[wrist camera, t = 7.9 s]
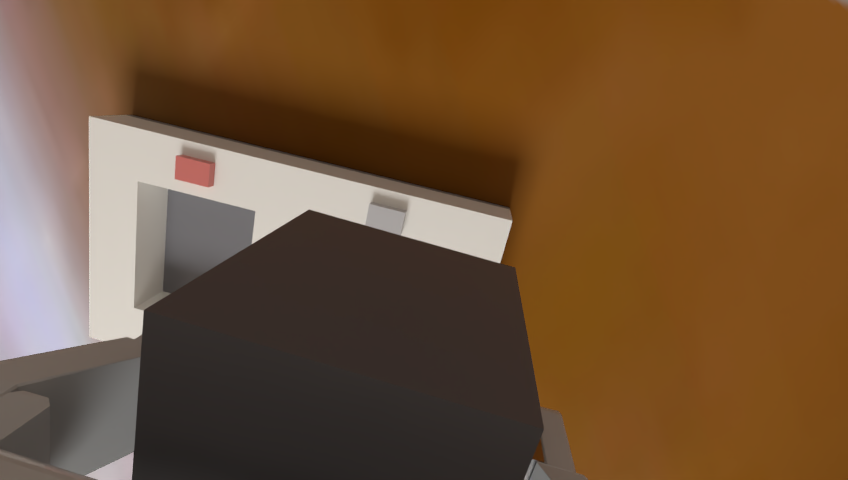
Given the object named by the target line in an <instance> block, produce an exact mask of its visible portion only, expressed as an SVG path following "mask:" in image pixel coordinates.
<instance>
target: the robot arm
mask: <svg viewBox="0 0 848 480" xmlns="http://www.w3.org/2000/svg"><path fill="white" fill-rule="evenodd" d="M141 343H142V335H140V336H139V337H137V338H136V339H132V338H129V337H124V338H119V339H113V340H108V341H103V342H98V343H92V344H87V345H82V346H77V347H71V348H66V349H61V350H55V351H50V352H45V353H40V354H34V355H29V356H24V357H19V358H13V359H8V360H3V361H0V480H96V479H93V478H90V477H87V476H85V475H87V474H89V473H91V472H93V471H95V470H97V469H99V468H101V467H103V466H105V465H107V464H110V463H112V462H114V461H116V460H118V459H120V458H122V457H124V456H126V455H128V454H130V453H133V452H134V445H135V430H136V416H137V401H138V387H139V372H140V358H141ZM540 409H541V414H542V420H543V425H544V431H543V433H542V436H541V438H540V441H539V443H538V446H537V448H536V451H535V453H534V456H533V458H532V460H531V463H530V465H529V468H528V470H527V473H526V475H525V478H524V480H588V479H587V478H586V477H585V476H584V475H581V474H578V473H576V471H575V467H574V463H573V459H572V455H571V451H570V447H569V443H568V439H567V435H566V431H565V427H564V423H563V419H562V415H561V414H560V413H559V412H558V411H555V410H551V409H547V408H543V407H540Z"/></svg>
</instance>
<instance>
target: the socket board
mask: <svg viewBox="0 0 848 480" xmlns="http://www.w3.org/2000/svg"><path fill="white" fill-rule="evenodd" d="M307 210H313V211H316V212H320V213H323V214H327V215H330V216H334V217H337V218H341V219H345V220H348V221H352V222H355V223H359V224H362V225H366V226H369V227H373V228H376V229H380V230H384V231H387V232H391V233H394V234H398V235H401V236H405V237H408V238H412V239H415V240H419V241H423V242H426V243H430V244H433V245H437V246H440V247H444V248H447V249H451V250H454V251H458V252H462V253H465V254H469V255H472V256H476V257H479V258H483V259H486V260H490V261H493V262H497V263H500V262H501V259H502V255H503V252H504V248H505V245H506V242H507V238H508V235H509V231H510V228H511V224H512V216H511V212H510V207H506V206H502V205H497V204H493V203H489V202H485V201H481V200H477V199H473V198H469V197H465V196H461V195H457V194H453V193H449V192H445V191H440V190H436V189H432V188H428V187H424V186H420V185H416V184H412V183H408V182H404V181H400V180H396V179H392V178H388V177H383V176H379V175H375V174H371V173H367V172H363V171H359V170H355V169H351V168H347V167H343V166H339V165H335V164H331V163H326V162H322V161H318V160H314V159H310V158H306V157H302V156H298V155H294V154H290V153H286V152H282V151H278V150H274V149H269V148H265V147H261V146H257V145H253V144H249V143H245V142H241V141H237V140H233V139H229V138H225V137H221V136H216V135H212V134H208V133H204V132H200V131H196V130H192V129H188V128H184V127H180V126H176V125H172V124H168V123H164V122H159V121H155V120H151V119H147V118H143V117H139V116H135V115H108V116H89V337H91V338H94V339H98V340H101V341H108V340H113V339H119V338H124V337H129V338H132V339H136V338H137V337H139V336H140V335H142V329H143V314H144V310H145V309H146V308H148V307H149V306H151V305H153V304H154V303H156V302H158V301H159V300H161V299H163V298H164V297H166V296H168V295H169V294H171V293H172V292H174V291H176V290H177V289H179V288H181V287H182V286H184V285H186V284H187V283H189V282H191V281H192V280H194V279H195V278H197V277H199V276H200V275H202V274H204V273H205V272H207V271H209V270H210V269H212V268H214V267H215V266H217V265H218V264H220V263H222V262H223V261H225V260H227V259H228V258H230V257H232V256H233V255H235V254H237V253H238V252H240V251H241V250H243V249H245V248H246V247H248V246H250V245H251V244H253V243H255V242H256V241H258V240H260V239H261V238H263V237H264V236H266V235H268V234H269V233H271V232H273V231H274V230H276V229H278V228H279V227H281V226H283V225H284V224H286V223H287V222H289V221H291V220H292V219H294V218H296V217H297V216H299V215H301V214H302V213H304V212H306V211H307Z"/></svg>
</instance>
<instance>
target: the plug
mask: <svg viewBox="0 0 848 480" xmlns="http://www.w3.org/2000/svg"><path fill="white" fill-rule="evenodd" d="M543 431H544V425H543V420H542V414H541V409H540V403H539V398H538V392H537V387H536V381H535V375H534V370H533V364H532V359H531V353H530V348H529V342H528V337H527V331H526V325H525V320H524V314H523V309H522V303H521V298H520V292H519V287H518V281H517V275H516V270H515V267H511V266H508V265H504V264H500V263H497V262H493V261H490V260H486V259H483V258H479V257H476V256H472V255H469V254H465V253H462V252H458V251H454V250H451V249H447V248H444V247H440V246H437V245H433V244H430V243H426V242H423V241H419V240H415V239H412V238H408V237H405V236H401V235H398V234H394V233H391V232H387V231H384V230H380V229H376V228H373V227H369V226H366V225H362V224H359V223H355V222H352V221H348V220H345V219H341V218H337V217H334V216H330V215H327V214H323V213H320V212H316V211H313V210H307V211H306V212H304V213H302V214H301V215H299V216H297V217H296V218H294V219H292V220H291V221H289V222H287V223H286V224H284V225H283V226H281V227H279V228H278V229H276V230H274V231H273V232H271V233H269V234H268V235H266V236H264V237H263V238H261V239H260V240H258V241H256V242H255V243H253V244H251V245H250V246H248V247H246V248H245V249H243V250H241V251H240V252H238V253H237V254H235V255H233V256H232V257H230V258H228V259H227V260H225V261H223V262H222V263H220V264H218V265H217V266H215V267H214V268H212V269H210V270H209V271H207V272H205V273H204V274H202V275H200V276H199V277H197V278H195V279H194V280H192V281H191V282H189V283H187V284H186V285H184V286H182V287H181V288H179V289H177V290H176V291H174V292H172V293H171V294H169V295H168V296H166V297H164V298H163V299H161V300H159V301H158V302H156V303H154V304H153V305H151V306H149V307H148V308H146V309H145V310H144V314H143V329H142V343H141V358H140V372H139V387H138V401H137V416H136V430H135V445H134V459H133V474H132V480H524V478H525V475H526V473H527V470H528V468H529V465H530V463H531V460H532V458H533V456H534V453H535V451H536V448H537V446H538V443H539V441H540V438H541V436H542V433H543Z"/></svg>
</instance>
